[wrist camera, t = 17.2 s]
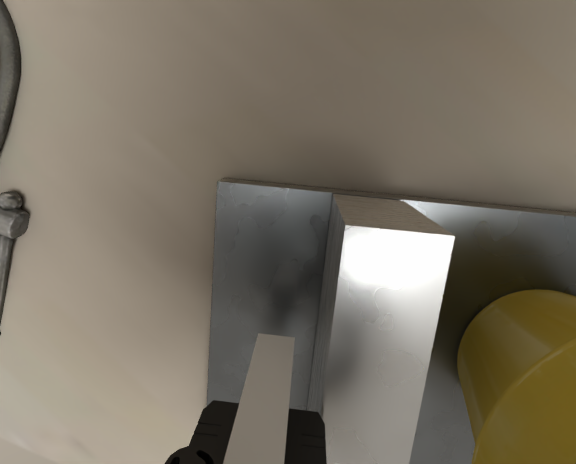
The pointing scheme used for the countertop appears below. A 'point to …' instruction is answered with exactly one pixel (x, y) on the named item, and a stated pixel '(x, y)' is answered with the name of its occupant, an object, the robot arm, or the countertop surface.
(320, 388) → the steel jaw
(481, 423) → the plant pot
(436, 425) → the vise base
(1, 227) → the c clamp
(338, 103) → the countertop surface
